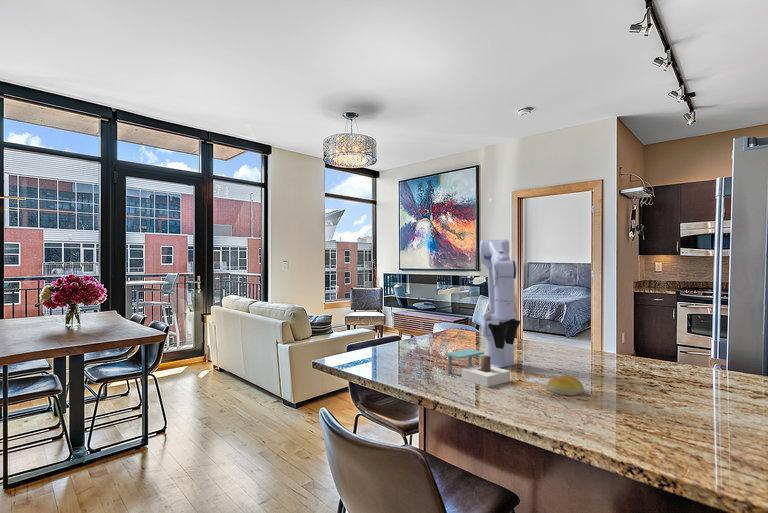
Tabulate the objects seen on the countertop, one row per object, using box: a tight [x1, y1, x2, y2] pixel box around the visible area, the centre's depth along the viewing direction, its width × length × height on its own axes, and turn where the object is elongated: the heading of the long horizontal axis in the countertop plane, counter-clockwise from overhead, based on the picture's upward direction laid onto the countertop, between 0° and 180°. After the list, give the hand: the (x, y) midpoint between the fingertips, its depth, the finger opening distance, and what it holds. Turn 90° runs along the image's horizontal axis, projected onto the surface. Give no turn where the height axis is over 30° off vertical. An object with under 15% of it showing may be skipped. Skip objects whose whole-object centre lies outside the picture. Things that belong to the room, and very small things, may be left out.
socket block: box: [461, 364, 511, 388], centre depth 119 cm, size 10×10×3 cm
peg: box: [480, 355, 491, 372], centre depth 119 cm, size 3×3×7 cm
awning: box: [445, 348, 485, 375], centre depth 127 cm, size 11×6×6 cm, turn 124°
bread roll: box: [546, 375, 585, 396], centre depth 109 cm, size 8×9×4 cm
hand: (504, 346), depth 118 cm, fingers open, 7 cm apart
